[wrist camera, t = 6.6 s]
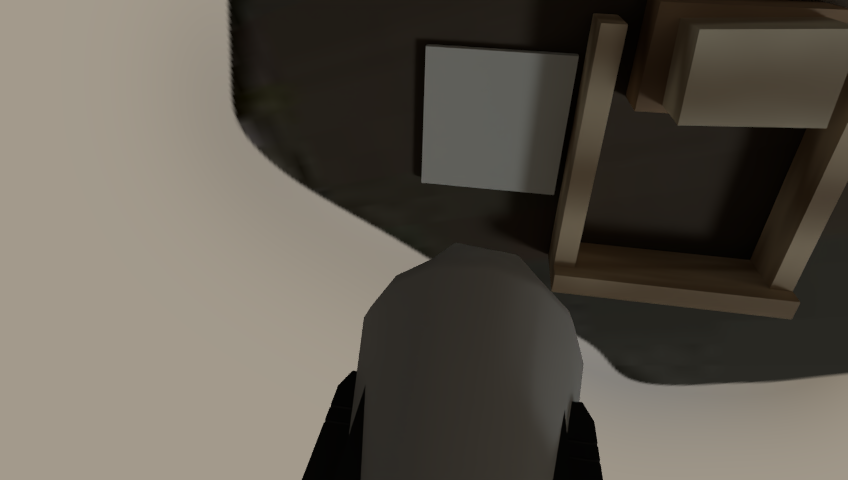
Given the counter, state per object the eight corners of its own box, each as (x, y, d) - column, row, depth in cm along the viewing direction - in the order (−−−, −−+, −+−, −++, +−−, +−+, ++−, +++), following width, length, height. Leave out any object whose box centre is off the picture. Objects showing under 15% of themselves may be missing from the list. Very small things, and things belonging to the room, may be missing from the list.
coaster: (427, 44, 29) (425, 46, 28) (577, 53, 28) (578, 56, 27) (422, 178, 33) (421, 182, 32) (553, 190, 32) (553, 195, 31)
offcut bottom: (646, -7, 26) (660, 1, 24) (820, 1, 25) (854, 10, 23) (624, 94, 29) (634, 111, 26) (781, 104, 28) (807, 122, 25)
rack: (593, 13, 27) (604, 26, 23) (876, 29, 25) (932, 46, 22) (548, 254, 34) (551, 291, 31) (763, 278, 33) (791, 319, 29)
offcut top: (680, 17, 24) (699, 29, 21) (826, 16, 23) (864, 28, 20) (662, 105, 26) (677, 125, 23) (795, 107, 25) (826, 128, 22)
